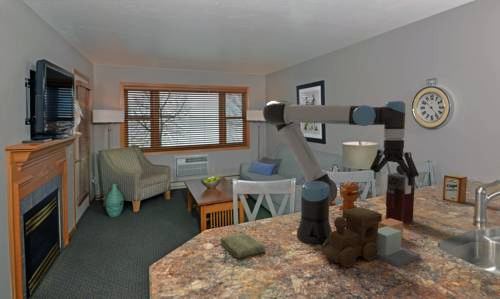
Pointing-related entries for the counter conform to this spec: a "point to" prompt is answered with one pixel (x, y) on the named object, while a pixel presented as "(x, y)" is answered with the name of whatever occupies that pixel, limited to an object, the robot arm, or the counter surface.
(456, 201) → the baking soda box
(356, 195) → the orange lumpy rounded piece
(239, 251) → the washcloth
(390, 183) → the toy vending machine
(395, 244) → the sage brick
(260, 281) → the counter surface
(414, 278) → the counter surface
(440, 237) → the counter surface
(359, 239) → the wooden toy train
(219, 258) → the counter surface
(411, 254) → the base plate
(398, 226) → the terracotta brick
